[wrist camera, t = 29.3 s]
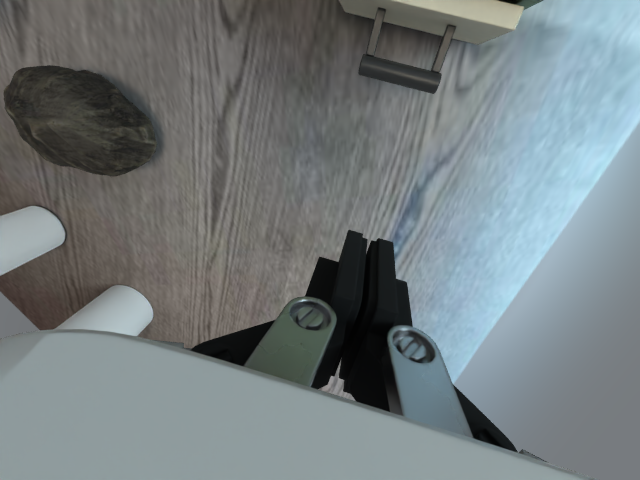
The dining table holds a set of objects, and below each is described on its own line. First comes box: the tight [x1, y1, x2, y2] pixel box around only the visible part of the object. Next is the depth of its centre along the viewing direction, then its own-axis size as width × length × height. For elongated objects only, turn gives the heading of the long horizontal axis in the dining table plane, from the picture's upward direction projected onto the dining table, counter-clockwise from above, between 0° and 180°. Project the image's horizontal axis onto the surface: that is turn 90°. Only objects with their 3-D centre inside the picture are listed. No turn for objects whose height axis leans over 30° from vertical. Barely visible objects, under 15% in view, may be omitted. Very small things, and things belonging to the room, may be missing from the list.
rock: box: [4, 65, 157, 176], centre depth 31 cm, size 10×11×10 cm
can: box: [0, 206, 66, 275], centre depth 39 cm, size 6×6×12 cm
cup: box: [55, 285, 153, 336], centre depth 42 cm, size 8×8×16 cm
